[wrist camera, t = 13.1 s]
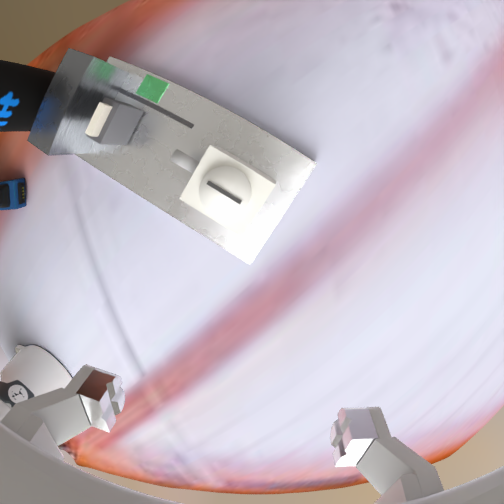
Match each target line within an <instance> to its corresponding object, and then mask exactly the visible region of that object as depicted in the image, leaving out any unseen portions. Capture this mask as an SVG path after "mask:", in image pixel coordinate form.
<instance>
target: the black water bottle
mask: <svg viewBox="0 0 504 504" xmlns="http://www.w3.org/2000/svg"><path fill="white" fill-rule="evenodd" d="M54 75H55V72H51V71H47V70H43V69H39V68H35V67H31V66H27V65H22V64H18V63H13V62H8V61H3V60H0V132H6V131H31V129H32V126H33V123H34V121H35V118H36V116H37V113H38V111H39V108H40V106H41V103H42V101H43V99H44V96H45V94H46V92H47V90H48V88H49V85H50V83H51V81H52V79H53V77H54Z"/></svg>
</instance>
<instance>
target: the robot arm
mask: <svg viewBox="0 0 504 504" xmlns="http://www.w3.org/2000/svg"><path fill="white" fill-rule="evenodd" d="M15 352H16V355H15V356H14V357H13V358H12V359H11V360H10V362H9V363H8V364H7V365H6V366H5V367H4V368H3V370H2V371H1V381H0V504H183V503H178V502H174V501H170V500H166V499H162V498H158V497H155V496H151V495H148V494H145V493H141V492H138V491H135V490H132V489H129V488H126V487H123V486H120V485H118V484H114V483H112V482H109V481H107V480H105V479H102V478H100V477H97V476H95V475H92V474H90V473H88V472H86V471H83V470H81V469H79V468H77V467H74V466H73V465H70V464H69V463H66V462H65V461H63V459H64V457H63V454H62V453H61V451H60V450H59V448H58V445H60V444H62V443H64V442H66V441H67V440H69V439H71V438H73V437H74V436H76V435H78V434H79V433H81V432H83V431H85V430H86V429H88V428H90V427H91V426H93V427H96V428H98V429H101V430H104V431H107V432H110V431H111V429H112V427H113V426H114V424H115V422H116V418H115V415H117V414H119V413H121V411H122V409H123V406H124V402H125V394H124V391H123V389H122V388H121V387H120V386H121V384H122V380H121V377H120V376H119V375H116V374H113V373H110V372H107V371H104V370H101V369H98V368H95V367H92V366H90V365H87V364H86V365H84V366H82V368H81V369H80V370H79V371H78V373H77V374H76V375H75V376H74V377H73V379H72V377H71V376H70V375H69V373H68V372H67V371H66V369H65V368H64V367H63V366H62V365H61V364H60V363H59V362H58V361H57V360H56V359H55V358H54V357H53V356H52V355H51V354H50V353H48V352H47V351H45V350H44V349H42V348H40V347H38V346H35V345H29V346H26V347H24V346H21V345H17V346H16V347H15ZM330 439H331V444H332V445H333V446H334V447H335V450H334V452H333V458H334V464H335V467H339V466H356V468H357V469H358V470H359V471H360V472H361V473H362V474H363V476H364V477H365V478H366V479H367V480H368V481H369V482H370V483H371V484H372V486H373V487H374V488H375V489H376V490H377V491H378V492H379V493H380V494H381V495H382V496H381V497H380V498H379V499H378V500H377V501H376V502H375V503H373V504H504V466H503V467H500V468H499V469H497V470H495V471H493V472H490V473H488V474H486V475H484V476H481V477H479V478H477V479H474V480H472V481H469V482H467V483H465V484H462V485H459V486H456V487H454V488H451V489H448V490H445V491H444V489H443V486H442V484H441V481H440V478H439V476H438V473H437V471H436V468H435V467H434V466H433V465H432V464H430V463H429V462H427V461H426V460H425V459H423V458H422V457H421V456H419V455H418V454H417V453H415V452H414V451H413V450H411V449H410V448H409V447H407V446H406V445H405V444H403V443H402V442H401V441H399V440H398V439H397V438H396V437H391V434H390V432H389V429H388V426H387V424H386V421H385V418H384V416H383V413H382V410H381V408H380V407H367V408H366V407H361V408H341V409H340V411H339V413H338V420H336V421H335V422H334V423H333V426H332V428H331V434H330Z"/></svg>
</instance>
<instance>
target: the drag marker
mask: <svg viewBox="0 0 504 504" xmlns="http://www.w3.org/2000/svg"><path fill="white" fill-rule="evenodd" d="M143 113H144V111H142V110H140V109H138V108H136V107H134V106H132V105H130V104H127V103H124V102H121V101H118V100H114V99H111V98H107V97H105V98H104V99H103V101H102V103H101V102H99V104H98V106H97V108H96V110H95V112H94V114H93V116H92V118H91V121H90V123H89V125H88V127H87V129H86V131H85V133H86V134H87V135H86V136H87V137H89V138H90V139H92V140H94V141H95V142H97V143H99V144H104V145H127V143H128V141H129V139H130V137H131V135H132V133H133V131H134V129H135V127H136V125H137V124H138V122H139V120H140V118H141V116H142V114H143Z"/></svg>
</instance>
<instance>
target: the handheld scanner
mask: <svg viewBox="0 0 504 504" xmlns="http://www.w3.org/2000/svg"><path fill="white" fill-rule="evenodd" d="M25 206H26V195H25V179H24V178H21V179H15V180H9V181H3V182H0V210H9V209H18V208H22V207H25Z"/></svg>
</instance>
